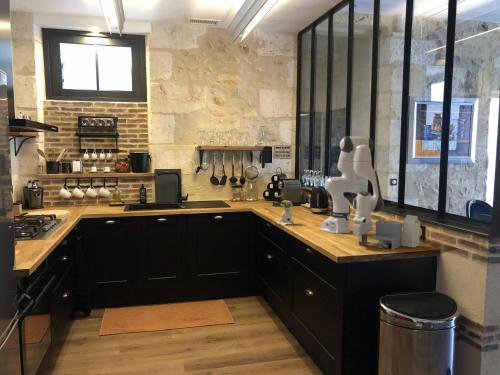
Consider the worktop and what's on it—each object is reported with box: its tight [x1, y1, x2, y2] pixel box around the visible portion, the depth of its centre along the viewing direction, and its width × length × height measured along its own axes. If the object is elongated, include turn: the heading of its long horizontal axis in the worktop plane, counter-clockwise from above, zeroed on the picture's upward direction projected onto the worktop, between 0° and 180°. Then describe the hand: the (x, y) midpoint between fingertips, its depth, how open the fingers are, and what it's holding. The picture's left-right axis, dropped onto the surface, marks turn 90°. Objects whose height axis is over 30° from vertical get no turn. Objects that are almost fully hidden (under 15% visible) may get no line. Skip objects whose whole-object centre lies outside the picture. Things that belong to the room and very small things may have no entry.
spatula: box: [358, 234, 390, 249], centre depth 245 cm, size 17×4×6 cm, turn 61°
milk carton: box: [401, 214, 421, 249], centre depth 244 cm, size 7×7×19 cm
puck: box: [376, 245, 385, 250], centre depth 240 cm, size 4×4×2 cm
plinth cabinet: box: [370, 219, 403, 250], centre depth 245 cm, size 14×13×14 cm
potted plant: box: [277, 199, 294, 226], centre depth 314 cm, size 12×13×18 cm
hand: (362, 240), depth 248 cm, fingers closed on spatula, 4 cm apart
